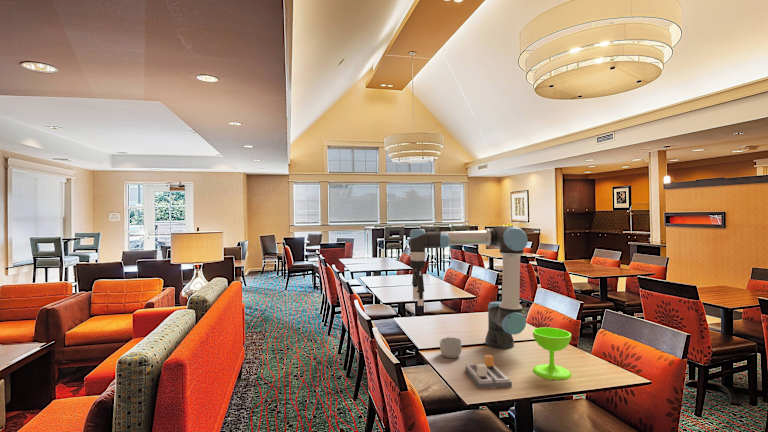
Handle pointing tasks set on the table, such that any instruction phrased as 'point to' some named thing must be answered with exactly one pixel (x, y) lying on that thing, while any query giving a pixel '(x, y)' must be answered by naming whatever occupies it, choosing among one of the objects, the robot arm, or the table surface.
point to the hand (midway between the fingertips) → (418, 302)
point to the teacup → (450, 347)
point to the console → (488, 377)
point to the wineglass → (552, 351)
